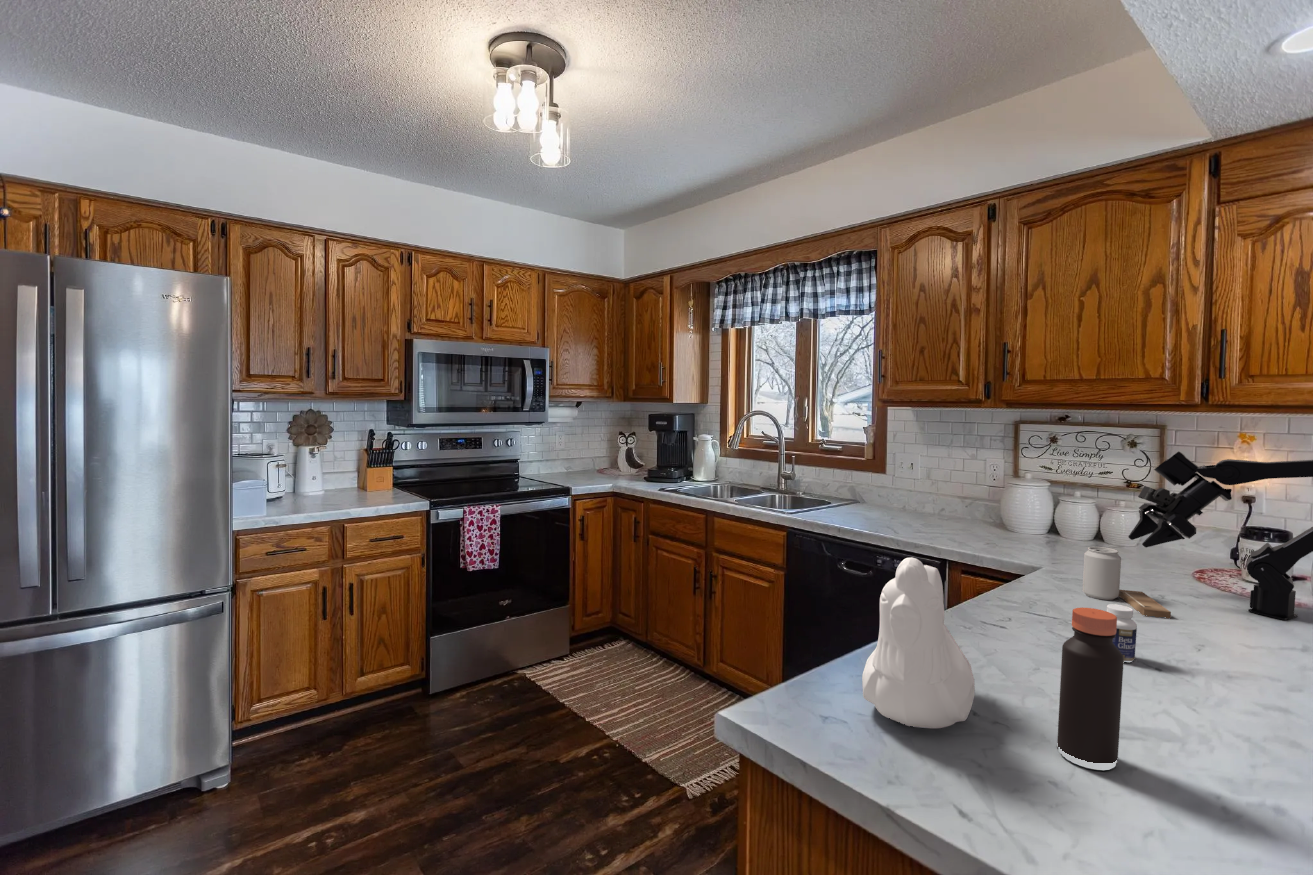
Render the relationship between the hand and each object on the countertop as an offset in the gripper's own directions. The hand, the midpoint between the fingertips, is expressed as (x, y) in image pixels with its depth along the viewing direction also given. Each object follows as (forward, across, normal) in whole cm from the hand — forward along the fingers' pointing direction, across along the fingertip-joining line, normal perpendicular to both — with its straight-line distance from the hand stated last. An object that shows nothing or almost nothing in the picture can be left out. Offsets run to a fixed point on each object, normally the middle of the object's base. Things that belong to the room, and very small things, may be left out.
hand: (1136, 542), depth 158 cm
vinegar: (+33, +89, -14) cm, 96 cm away
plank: (+11, +9, +9) cm, 16 cm away
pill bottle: (+22, +47, -3) cm, 52 cm away
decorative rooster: (+47, +82, -28) cm, 98 cm away
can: (+16, +4, +4) cm, 16 cm away
